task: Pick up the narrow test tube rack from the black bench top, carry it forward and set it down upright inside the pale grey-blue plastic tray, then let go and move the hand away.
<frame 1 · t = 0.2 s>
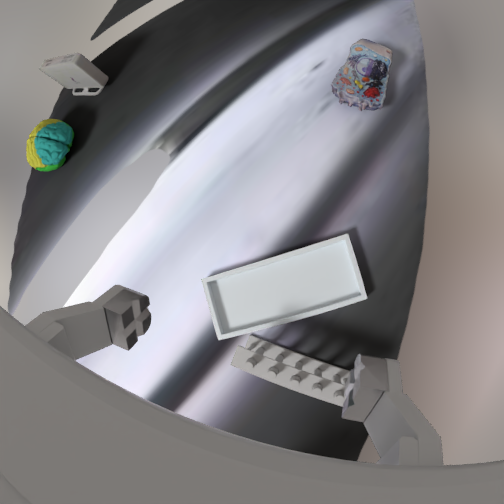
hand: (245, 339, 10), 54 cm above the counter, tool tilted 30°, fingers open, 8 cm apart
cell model: (361, 86, 63), on the counter
brain model: (62, 150, 84), on the counter
tray: (283, 289, 64), on the counter
test tube rack: (299, 363, 62), on the counter
network device: (90, 85, 85), on the counter
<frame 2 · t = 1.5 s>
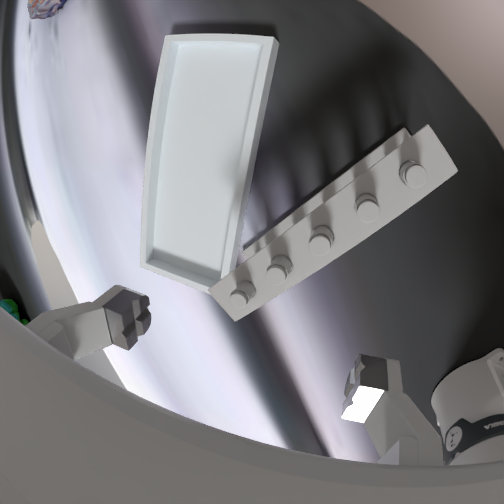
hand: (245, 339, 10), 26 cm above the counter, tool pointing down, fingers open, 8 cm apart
brain model: (23, 318, 76), on the counter
tray: (201, 162, 36), on the counter
test tube rack: (331, 206, 33), on the counter
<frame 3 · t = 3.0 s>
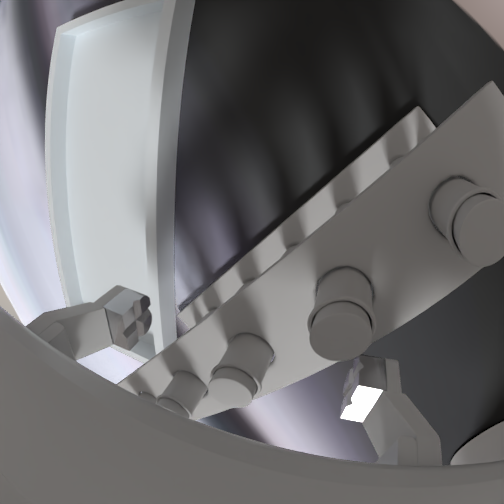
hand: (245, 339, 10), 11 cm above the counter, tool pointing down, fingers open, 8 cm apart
tray: (110, 191, 24), on the counter
test tube rack: (299, 248, 21), on the counter, touching gripper
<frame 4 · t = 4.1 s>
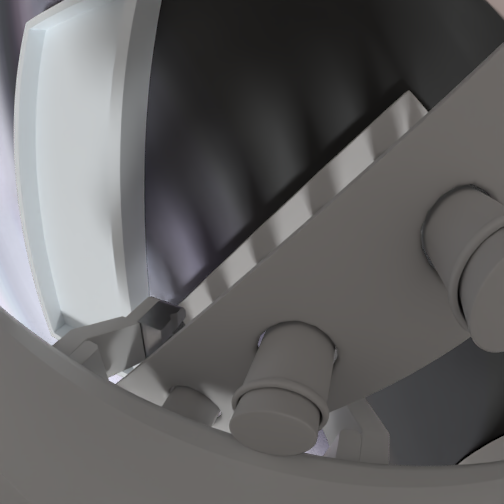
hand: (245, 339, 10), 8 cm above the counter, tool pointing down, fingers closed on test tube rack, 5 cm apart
tray: (79, 195, 21), on the counter
test tube rack: (274, 262, 18), on the counter, touching gripper
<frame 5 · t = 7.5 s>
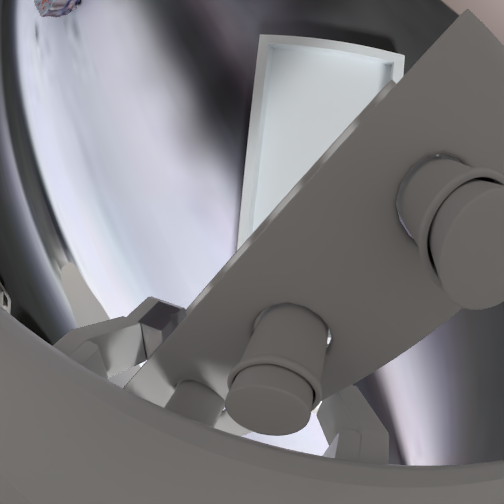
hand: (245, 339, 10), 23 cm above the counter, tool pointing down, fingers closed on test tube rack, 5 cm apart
tray: (312, 197, 31), on the counter
test tube rack: (275, 260, 19), point 14 cm above the counter, touching gripper
network device: (3, 301, 70), on the counter
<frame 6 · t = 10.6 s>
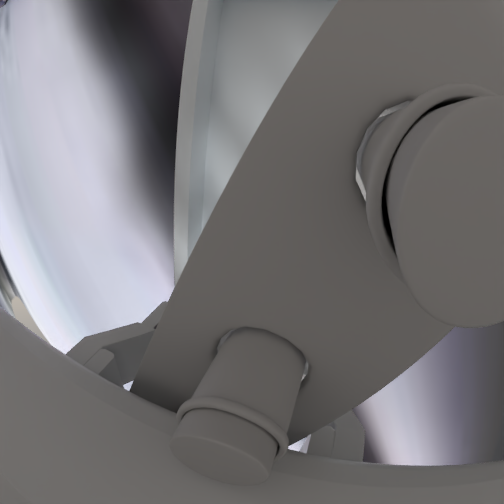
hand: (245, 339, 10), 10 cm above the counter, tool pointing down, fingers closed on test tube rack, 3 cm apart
tray: (291, 242, 19), on the counter
test tube rack: (274, 272, 17), point 2 cm above the counter, touching gripper, tray
when the fingers open (10 cm above the counter, at t = 10.7 s): test tube rack stays where it is, resting on tray.
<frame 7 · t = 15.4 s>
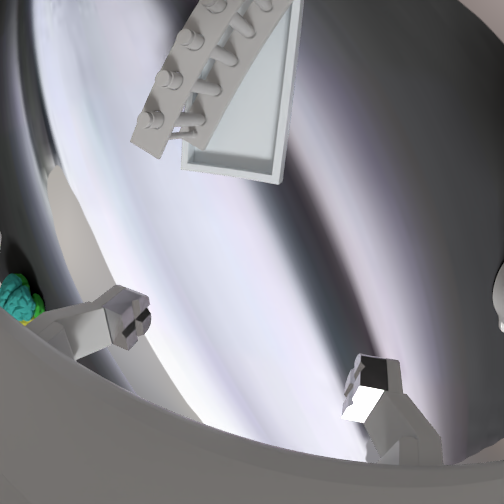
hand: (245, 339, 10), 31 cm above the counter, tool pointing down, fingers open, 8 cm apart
brain model: (33, 295, 74), on the counter
tray: (245, 58, 33), on the counter
test tube rack: (235, 62, 32), point 2 cm above the counter, touching tray
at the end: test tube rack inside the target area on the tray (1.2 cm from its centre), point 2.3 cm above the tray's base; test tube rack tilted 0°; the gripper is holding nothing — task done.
